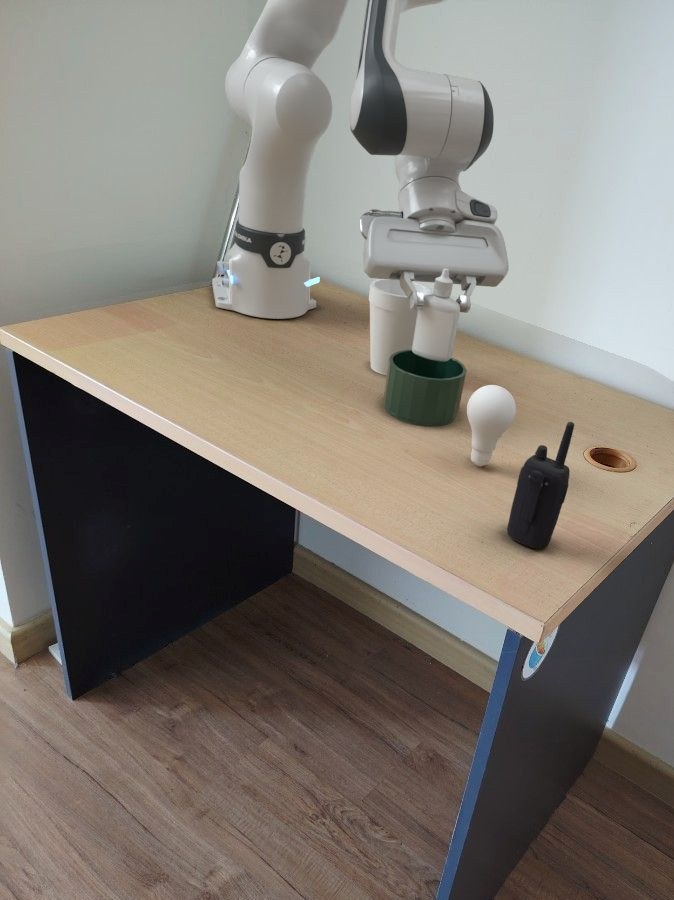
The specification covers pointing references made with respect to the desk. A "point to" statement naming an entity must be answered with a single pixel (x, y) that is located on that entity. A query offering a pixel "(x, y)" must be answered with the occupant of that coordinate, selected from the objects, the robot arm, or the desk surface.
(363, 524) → the desk surface
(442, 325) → the eye dropper bottle
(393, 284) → the foam cup
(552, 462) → the two-way radio
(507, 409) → the lightbulb
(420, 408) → the tin
